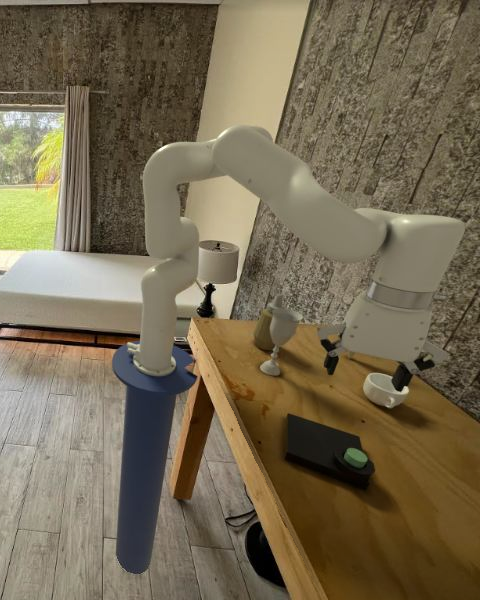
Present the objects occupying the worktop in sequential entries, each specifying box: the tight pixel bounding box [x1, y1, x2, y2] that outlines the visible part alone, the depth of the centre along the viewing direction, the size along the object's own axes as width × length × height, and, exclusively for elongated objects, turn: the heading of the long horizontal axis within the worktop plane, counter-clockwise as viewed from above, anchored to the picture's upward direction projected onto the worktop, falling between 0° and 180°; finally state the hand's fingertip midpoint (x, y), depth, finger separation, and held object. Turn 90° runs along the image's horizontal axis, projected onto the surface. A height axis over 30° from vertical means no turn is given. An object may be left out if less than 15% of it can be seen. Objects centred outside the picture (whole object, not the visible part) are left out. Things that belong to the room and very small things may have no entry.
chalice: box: [259, 307, 304, 376], centre depth 86 cm, size 7×7×18 cm
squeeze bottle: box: [253, 293, 286, 351], centre depth 97 cm, size 8×8×18 cm
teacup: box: [362, 372, 410, 409], centre depth 77 cm, size 10×8×5 cm
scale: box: [283, 412, 376, 491], centre depth 65 cm, size 13×12×4 cm
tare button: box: [344, 448, 368, 468], centre depth 59 cm, size 3×3×2 cm
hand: (361, 378), depth 58 cm, fingers open, 9 cm apart
